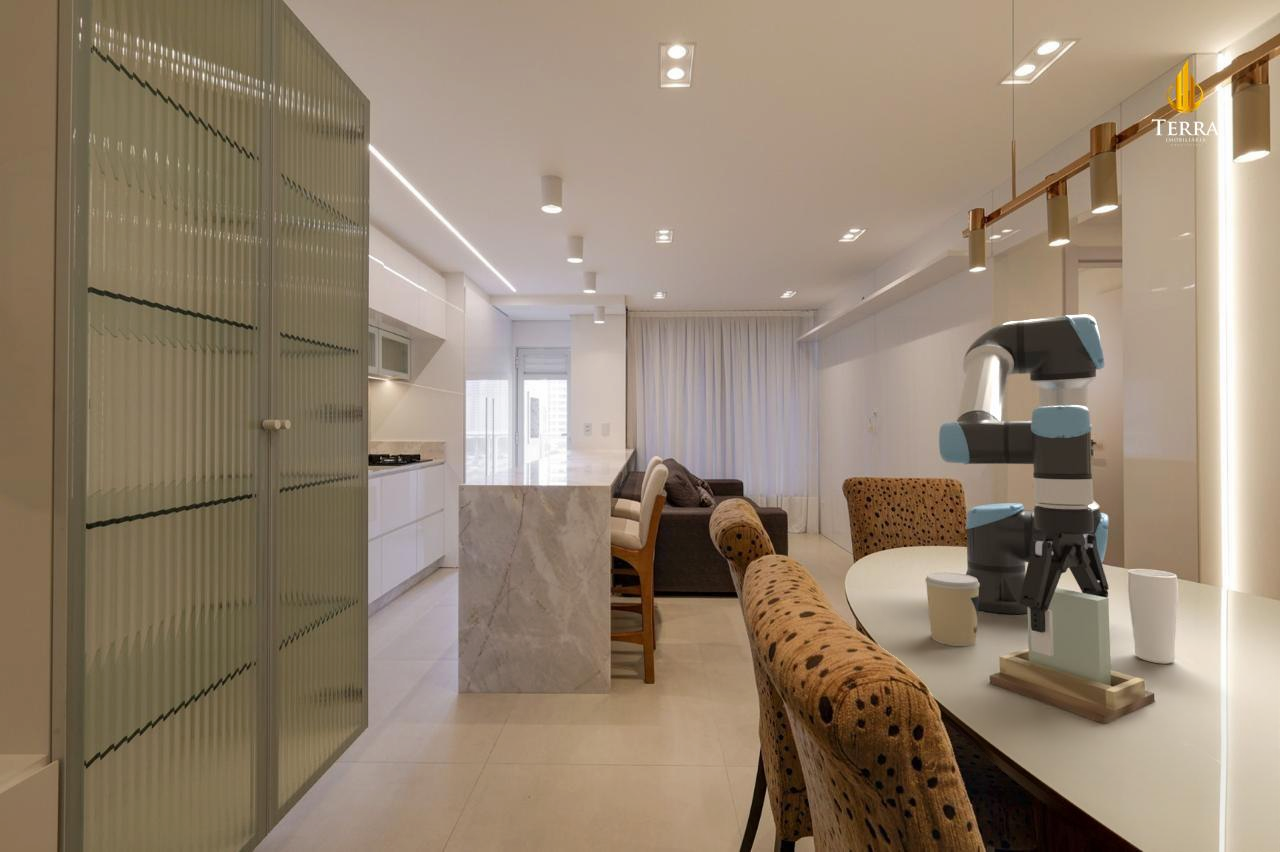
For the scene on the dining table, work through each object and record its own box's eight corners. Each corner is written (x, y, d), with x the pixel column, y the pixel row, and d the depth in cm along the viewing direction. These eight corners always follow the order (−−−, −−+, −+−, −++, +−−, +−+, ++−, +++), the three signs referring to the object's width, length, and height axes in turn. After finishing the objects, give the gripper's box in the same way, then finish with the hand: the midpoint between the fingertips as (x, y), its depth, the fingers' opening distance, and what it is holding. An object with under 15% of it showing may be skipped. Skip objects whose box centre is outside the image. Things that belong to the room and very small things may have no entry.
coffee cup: (988, 649, 112) (986, 583, 112) (934, 646, 114) (932, 582, 114) (971, 633, 121) (970, 572, 121) (921, 630, 123) (919, 571, 123)
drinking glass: (1132, 649, 110) (1129, 566, 111) (1182, 658, 106) (1179, 572, 106) (1127, 659, 106) (1124, 573, 106) (1178, 669, 101) (1175, 579, 101)
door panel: (1040, 671, 98) (1037, 584, 99) (1111, 693, 89) (1108, 598, 90) (1029, 674, 97) (1026, 586, 97) (1100, 697, 88) (1097, 600, 88)
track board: (1040, 666, 103) (1039, 644, 103) (1154, 701, 89) (1153, 676, 89) (989, 683, 97) (989, 659, 97) (1104, 723, 83) (1103, 696, 83)
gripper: (1079, 498, 103) (1083, 625, 102) (989, 509, 91) (994, 652, 91) (1132, 502, 96) (1136, 638, 96) (1042, 514, 84) (1047, 668, 84)
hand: (1067, 645), depth 93 cm, fingers open, 13 cm apart
